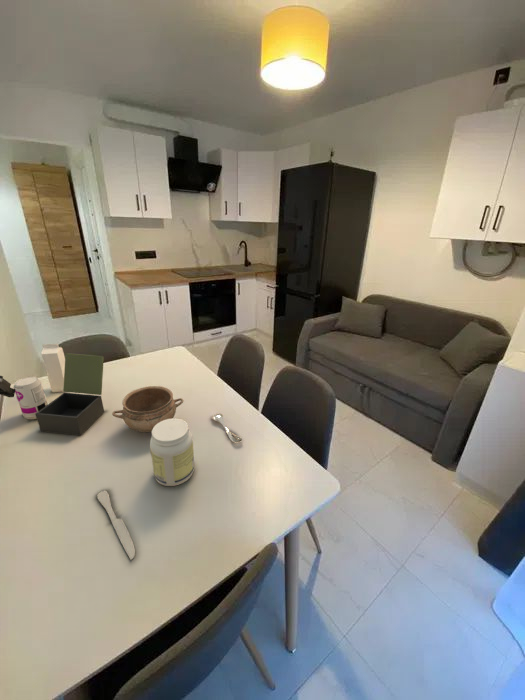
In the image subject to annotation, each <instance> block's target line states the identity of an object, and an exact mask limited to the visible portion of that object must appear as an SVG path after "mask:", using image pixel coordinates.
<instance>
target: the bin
mask: <svg viewBox="0 0 525 700" xmlns="http://www.w3.org/2000/svg"><path fill="white" fill-rule="evenodd" d="M104 413H105V407H104V402H103V398H102V395H95V394H84V393H73V392H63V393H62V394H60V395H59V396H57V397H56V398H55V399H54V400H52V401H51V402H49V403H48V405H47V406H45V407H44V408H43V409H41V410H40V411H39V412H37V413H36V414H35V415H36V418H37V419H36V421H37V424H38V426H39V431H40V432H43V433H44V432H45V433H55V434H63V435H64V434H65V435H73V436H82V435H83V434H84V433H85V432H86V431H87V430H88V429H89V428H90V427H91V426H92V425H93V424H94V423H95V422H96V421H98V419H99V418H100V417H101V416H102V415H103V414H104Z"/></svg>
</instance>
